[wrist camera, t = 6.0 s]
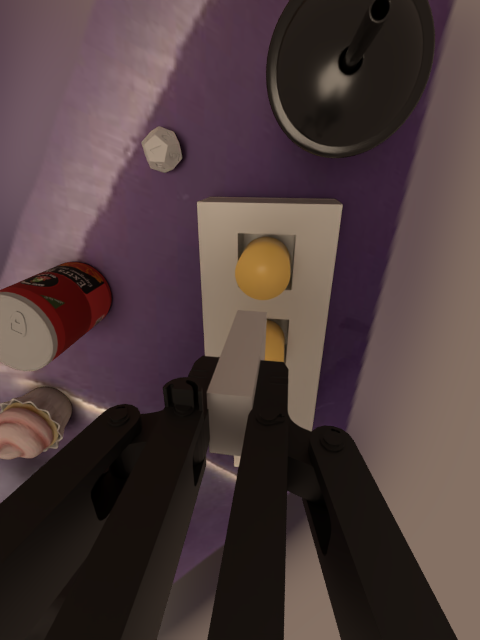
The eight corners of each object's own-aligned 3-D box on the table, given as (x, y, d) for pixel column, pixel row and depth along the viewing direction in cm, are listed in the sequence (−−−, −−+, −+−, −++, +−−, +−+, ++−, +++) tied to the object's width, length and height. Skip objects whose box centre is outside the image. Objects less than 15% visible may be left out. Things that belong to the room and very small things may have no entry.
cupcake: (86, 390, 45) (36, 445, 36) (79, 434, 50) (33, 493, 41) (23, 367, 45) (-42, 417, 36) (22, 413, 49) (-37, 468, 41)
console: (308, 412, 41) (310, 442, 37) (217, 403, 43) (209, 430, 38) (335, 198, 30) (342, 204, 26) (210, 196, 32) (196, 201, 27)
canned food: (113, 266, 36) (47, 303, 27) (114, 327, 40) (57, 380, 30) (49, 253, 37) (-38, 286, 27) (57, 315, 40) (-18, 363, 31)
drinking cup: (280, 166, 30) (264, 169, 12) (273, 65, 26) (235, -145, 9) (367, 153, 28) (500, 135, 10) (371, 44, 25) (571, -257, 7)
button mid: (283, 358, 33) (282, 381, 30) (241, 354, 34) (235, 377, 30) (286, 320, 31) (285, 340, 28) (241, 317, 32) (235, 336, 28)
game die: (191, 164, 31) (182, 164, 28) (157, 176, 32) (145, 177, 29) (178, 123, 29) (167, 119, 27) (143, 137, 30) (129, 134, 27)
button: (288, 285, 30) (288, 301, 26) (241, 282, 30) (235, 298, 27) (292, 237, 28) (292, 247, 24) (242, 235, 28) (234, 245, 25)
